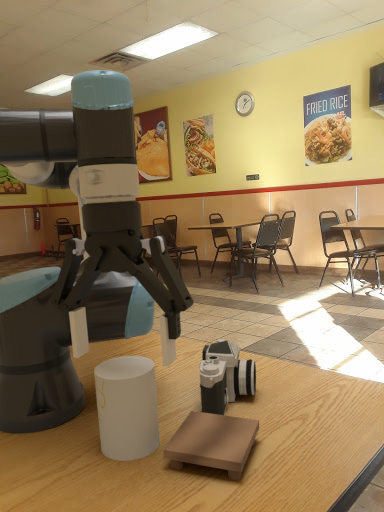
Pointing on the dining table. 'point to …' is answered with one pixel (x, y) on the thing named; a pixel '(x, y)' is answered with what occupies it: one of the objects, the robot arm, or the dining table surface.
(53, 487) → the dining table surface
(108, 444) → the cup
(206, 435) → the wooden stand
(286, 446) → the dining table surface
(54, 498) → the dining table surface
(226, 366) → the camera
